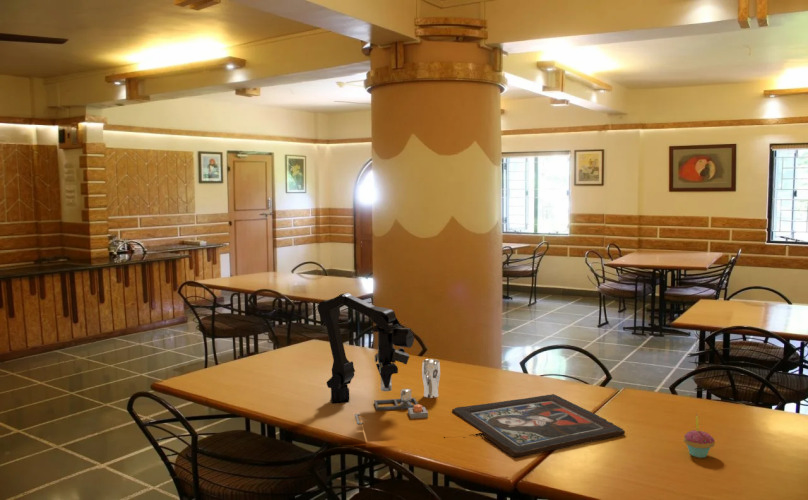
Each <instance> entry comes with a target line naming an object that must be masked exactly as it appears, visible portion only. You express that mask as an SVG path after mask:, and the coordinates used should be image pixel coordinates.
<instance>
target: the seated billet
mask: <svg viewBox="0 0 808 500" xmlns="http://www.w3.org/2000/svg"><path fill="white" fill-rule="evenodd" d="M411 398H412V389H410V388H402V389H400V399H401V402H400V405H412V402H411Z"/></svg>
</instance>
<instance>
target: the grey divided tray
mask: <svg viewBox="0 0 808 500" xmlns="http://www.w3.org/2000/svg"><path fill="white" fill-rule="evenodd" d="M398 403H400V405H399V404H398ZM411 403H413V404H411V405H401V398H392V399H391V398H390V399H375V400H373V404H374V406H375V407H374V408H375V410H376V412H377V411H378V412H379V411H382V412H383V411H395V410H396V411H397V410H408V408H414V405H417V404H419V402H418V401H417V399H416V397H411ZM382 404H383V405H384V404H394V405H387V406H380V405H382Z"/></svg>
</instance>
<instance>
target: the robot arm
mask: <svg viewBox="0 0 808 500" xmlns="http://www.w3.org/2000/svg"><path fill="white" fill-rule="evenodd" d="M344 306H345V307H347V308H350V309H351V310H353V311H355V312H357V313H359V314H362V315H363V316H366V317H367V318H369V319H370V320H371V322H372V323H374V324H375V325H376V326H375V327H374V328H373V329H372V332H373V333H377V346H376V349H377V353H376V354H375V355H374V363H376V364H375V365H376V368H377V371H378V373H379V376H380V379H381V378H382V381H383V383H384V386H385V388H388V387H389V383H390V379H391V375H394V374H395V375H396V374H398V373H399V367H398V366H397V365H396V362H398V363H402V364H403V365H407V364H408V362H409V358H410V355H409V353H407V352H406V351H405V349H404V348H409V349H410V348H412V346H413V345H414V342H415V336H414V334H413V332H412V328H411V327H402V324H401V323H400V321H399V319H398V318H397V315H396V313H395V311H394V310H393V309H391V308H387V307H383V306H377V305H376V306H375V305H373V304H371V303H370V302H367V301H365V300H363V299H360V298H359V297H357V296H354V295H352V294H351V293H349V292H345V293H341V294H339V295H337V296H335V297H333V298H329V299H326V300H322V301H320V302H319V303H318V305H317V312H318V315H319V317H320V319H321V321H322V322H324V324H325V327H326V332H327V337H328V342H329V345H330V350H331V354H332V355H331V357H332V359H333V360H332V361H333V362H332V367H331V377H330V378H329V379H328V380H327V381H326V386H327V388H328V389H330V404H346V403H347V404H348V403H349V400H350V387H348V385H349V384H351V382H352V380H353V379H354V378H355V372H356V369H355V367H354V362H353V361H350V360H348V358H347V356H346V352H345V346H344V342H343V337H342V333H341V327H340V323H339V319H340V315H341V308H343V307H344ZM395 347H398V349H396V348H395Z"/></svg>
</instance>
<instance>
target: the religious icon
mask: <svg viewBox="0 0 808 500" xmlns="http://www.w3.org/2000/svg"><path fill="white" fill-rule="evenodd" d="M451 413H452V414H454V415H455V416H456V417H458V418H460V419H461V420H463V421H464V422H466V423H467V424H469V425H470V426H472V427H473V428H475V429H476V430H478V431H479V433H477V434H476V435H475V436H476V437H483V436H484V438H486V439H487V440H489V441H491V442H492V443H493V444H494V445H496V446H497V447H498V448H500V449H501V450H502V451H504V452H505V453H507V454H508V455H510V456H511V457H513V458H519V457H526V456H529V455H530V456H531V455H534V454H535V455H536V454H539V453H545V452H549V451H554V450H559V449H563V448H565V449H566V448H569V447H573V446H574V447H575V446H579V445H583V444H587V443H591V442H596V441H597V442H598V441H602V440H607V439H612V438H617V437H620V436H624V435H625V434H626V431H625V430H624V428H621V427H620V426H618V425H616V424H614V423H613V422H612V421H611V422H610V421H608V420H607V419H606V418H603V417H601V416H599V414H596V413H593V412H592V411H590V410H587V409H585V408H583V406H582V407H581V406H579V405H577V404H575V403H572V401H569V400H567V399H565V398H562V397H560V396H558V395H557V394H554V393H552V394H545V395H538V396H533V397H532V396H531V397H526V398H518V399H512V400H511V399H510V400H505V401H504V400H503V401H497V402H496V401H495V402H489V403H482V404H475V405H466V406H458V407H457V406H456V407H455V408H452V410H451Z"/></svg>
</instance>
